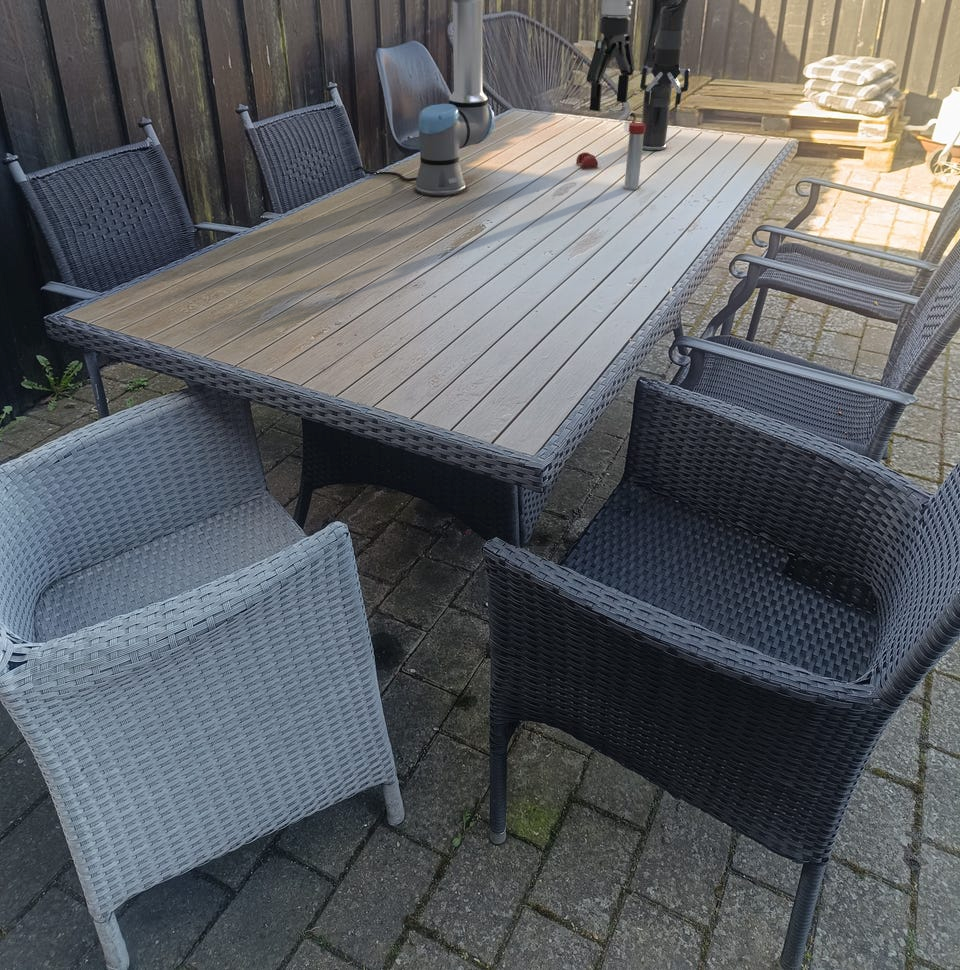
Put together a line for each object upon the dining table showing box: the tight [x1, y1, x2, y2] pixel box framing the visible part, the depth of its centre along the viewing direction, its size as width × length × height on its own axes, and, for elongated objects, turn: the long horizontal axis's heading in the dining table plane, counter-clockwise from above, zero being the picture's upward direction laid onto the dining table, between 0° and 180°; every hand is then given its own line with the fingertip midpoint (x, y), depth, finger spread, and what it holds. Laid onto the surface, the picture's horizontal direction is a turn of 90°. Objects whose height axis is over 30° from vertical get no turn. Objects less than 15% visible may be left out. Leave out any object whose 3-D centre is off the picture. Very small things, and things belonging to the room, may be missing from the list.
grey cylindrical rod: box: [623, 132, 644, 191], centre depth 255 cm, size 4×4×18 cm
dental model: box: [575, 151, 599, 169], centre depth 278 cm, size 6×4×8 cm
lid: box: [628, 122, 646, 134], centre depth 250 cm, size 5×5×2 cm
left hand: (608, 106), depth 226 cm, fingers open, 13 cm apart
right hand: (662, 105), depth 258 cm, fingers open, 8 cm apart
